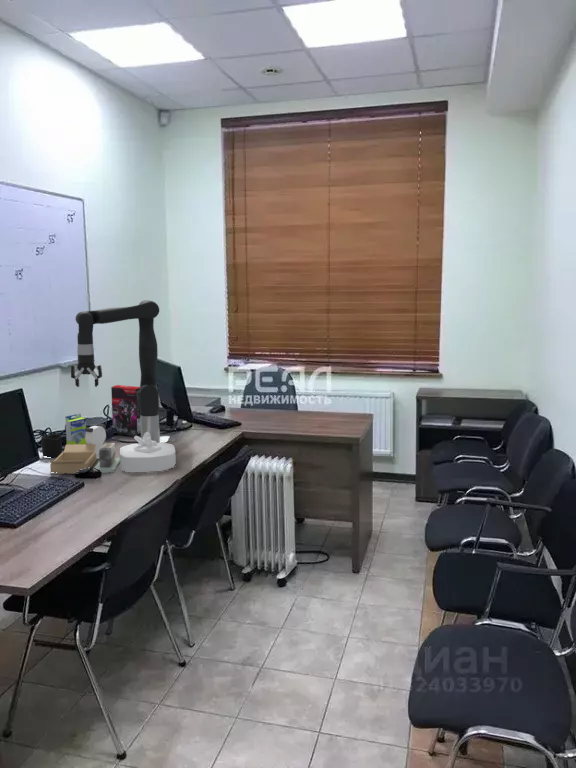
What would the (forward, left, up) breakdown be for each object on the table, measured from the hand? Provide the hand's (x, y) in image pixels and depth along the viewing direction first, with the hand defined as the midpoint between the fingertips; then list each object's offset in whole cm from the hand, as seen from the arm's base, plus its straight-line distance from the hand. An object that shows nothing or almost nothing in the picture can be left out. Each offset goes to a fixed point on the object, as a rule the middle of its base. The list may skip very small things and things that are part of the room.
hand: (87, 386), depth 305 cm
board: (-13, +22, -34) cm, 42 cm away
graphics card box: (-12, -41, -34) cm, 55 cm away
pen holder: (+17, +3, -34) cm, 38 cm away
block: (-13, +21, -32) cm, 41 cm away
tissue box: (-31, +19, -34) cm, 50 cm away
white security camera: (-4, +2, -34) cm, 35 cm away
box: (+9, -12, -34) cm, 38 cm away
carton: (+2, +22, -34) cm, 40 cm away
